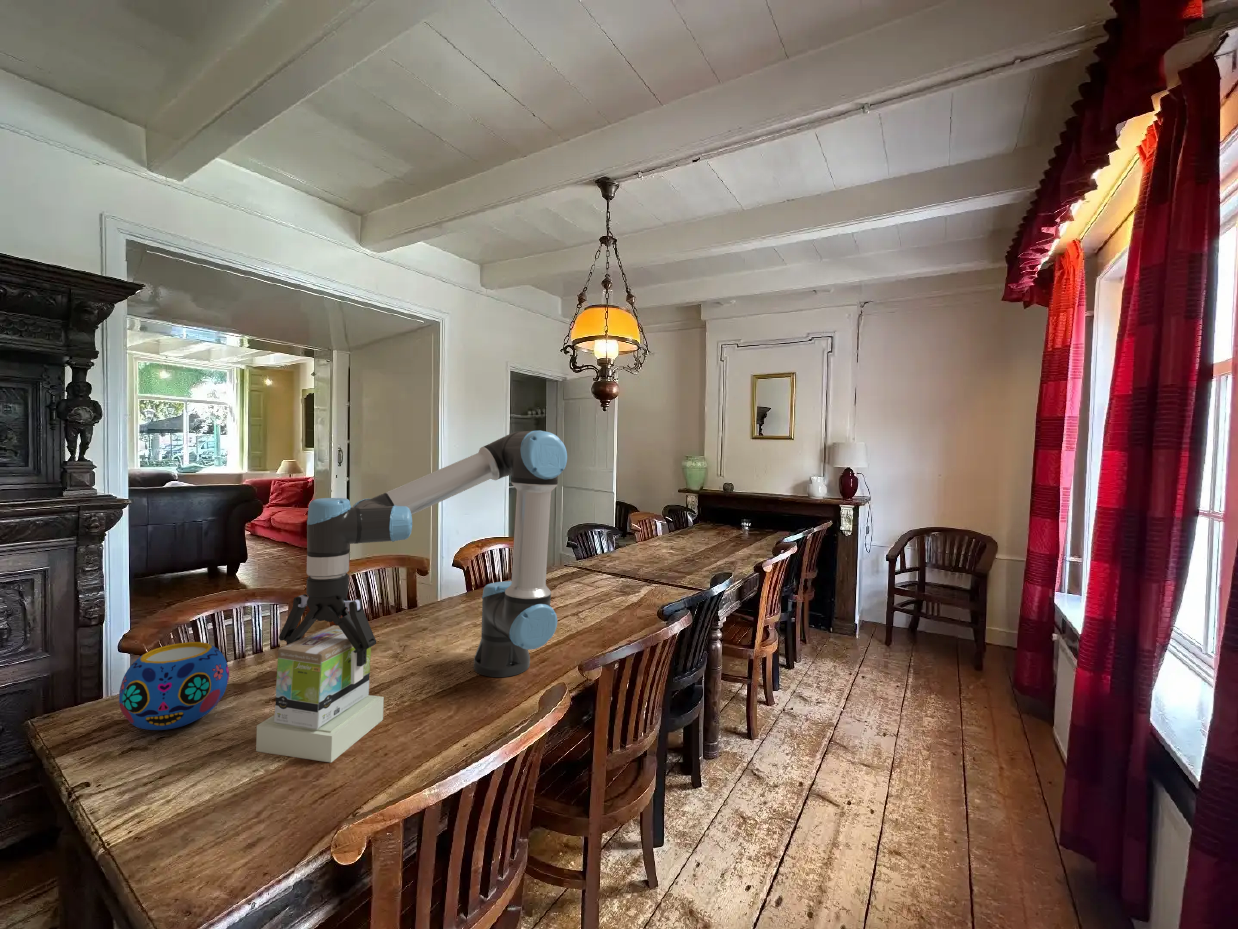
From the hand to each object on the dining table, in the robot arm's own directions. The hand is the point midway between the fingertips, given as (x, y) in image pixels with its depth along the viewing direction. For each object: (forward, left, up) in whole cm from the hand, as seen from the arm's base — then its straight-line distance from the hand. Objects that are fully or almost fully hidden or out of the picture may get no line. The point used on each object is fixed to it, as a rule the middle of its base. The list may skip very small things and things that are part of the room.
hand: (326, 677), depth 106 cm
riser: (0, 0, -12) cm, 12 cm away
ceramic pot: (+32, +3, -12) cm, 34 cm away
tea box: (0, 0, -7) cm, 7 cm away
